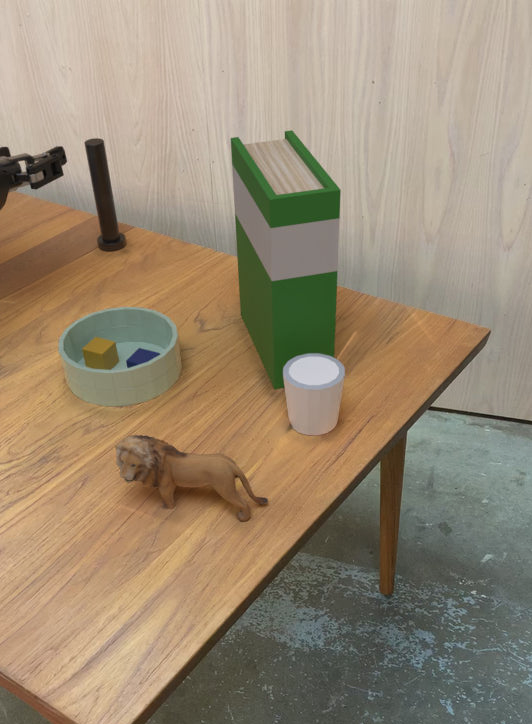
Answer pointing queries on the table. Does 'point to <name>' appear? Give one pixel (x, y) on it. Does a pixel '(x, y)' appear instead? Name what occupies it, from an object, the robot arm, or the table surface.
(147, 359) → the navy block
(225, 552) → the table surface
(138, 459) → the lion figurine
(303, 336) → the hardback book
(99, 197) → the black flashlight
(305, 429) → the white cup
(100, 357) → the mustard block
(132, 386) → the bowl
